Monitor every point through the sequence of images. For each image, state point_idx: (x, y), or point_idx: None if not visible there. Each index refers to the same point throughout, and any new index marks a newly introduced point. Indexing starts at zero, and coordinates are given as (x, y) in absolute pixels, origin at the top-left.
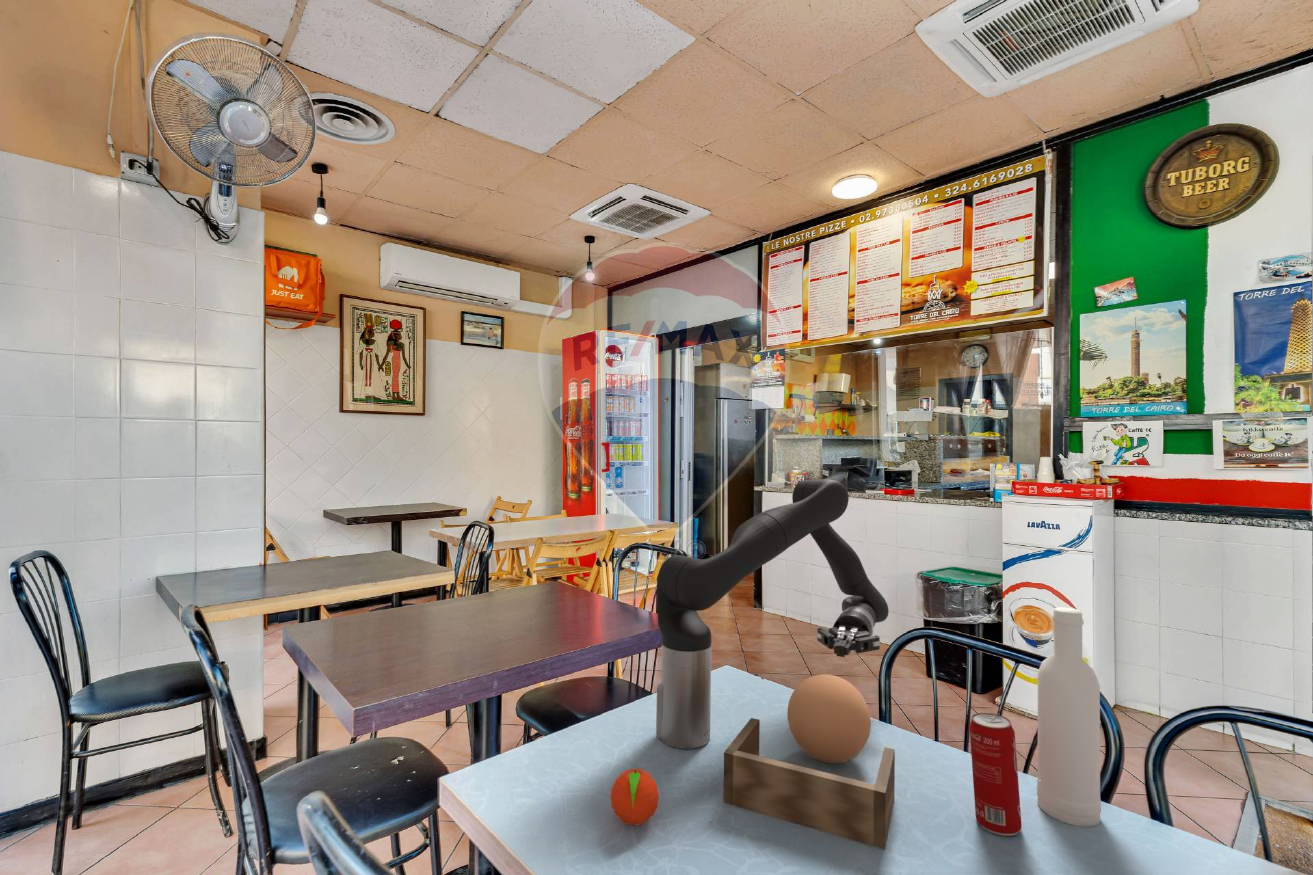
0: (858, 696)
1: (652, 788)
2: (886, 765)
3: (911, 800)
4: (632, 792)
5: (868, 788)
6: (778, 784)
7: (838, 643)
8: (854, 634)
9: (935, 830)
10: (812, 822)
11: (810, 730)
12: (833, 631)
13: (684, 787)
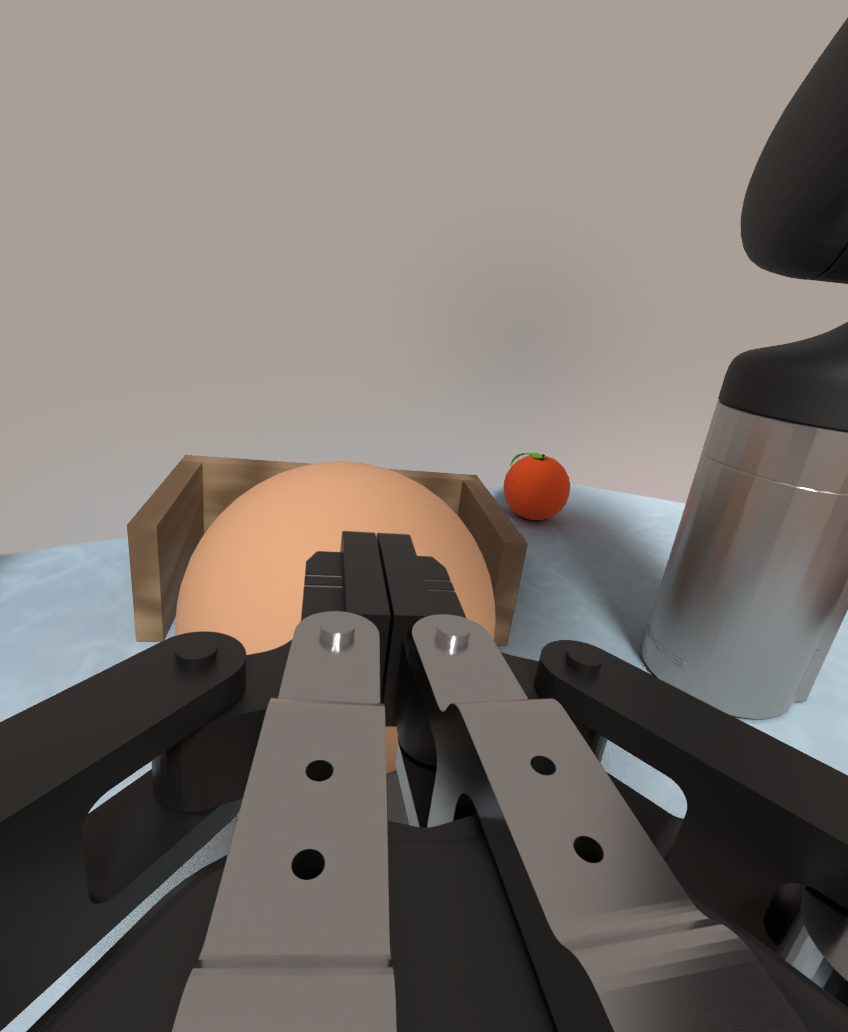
0: (226, 508)
1: (513, 468)
2: (167, 489)
3: (87, 648)
4: (519, 455)
5: (215, 458)
6: None
7: (407, 552)
8: (264, 727)
9: (67, 590)
10: None
11: None
12: (802, 978)
13: (540, 564)
